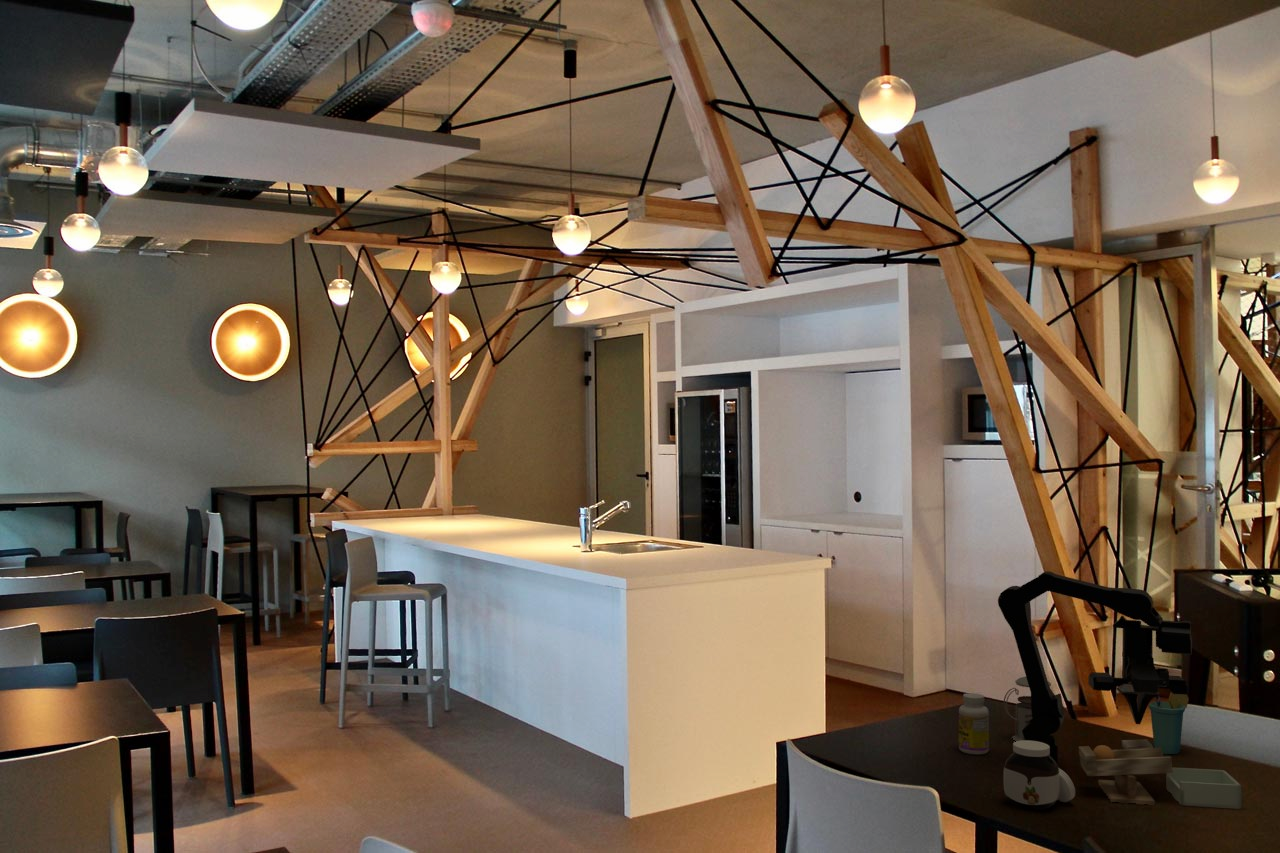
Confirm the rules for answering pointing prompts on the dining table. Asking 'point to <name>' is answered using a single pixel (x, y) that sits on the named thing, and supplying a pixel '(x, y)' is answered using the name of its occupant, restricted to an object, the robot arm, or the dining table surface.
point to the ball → (1103, 752)
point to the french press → (1021, 713)
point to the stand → (1126, 790)
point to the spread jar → (1035, 777)
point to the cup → (1168, 722)
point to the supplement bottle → (973, 725)
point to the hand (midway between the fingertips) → (1137, 723)
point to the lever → (1127, 760)
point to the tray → (1204, 788)
